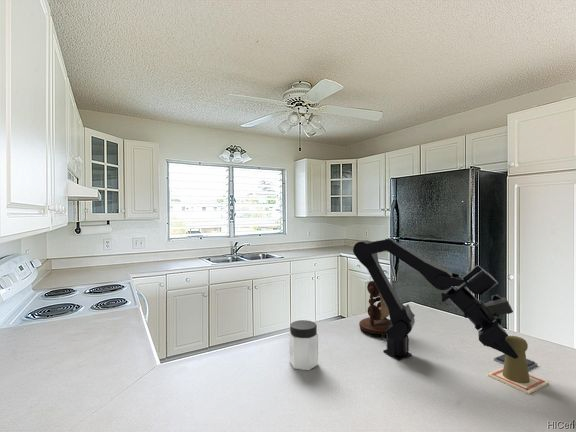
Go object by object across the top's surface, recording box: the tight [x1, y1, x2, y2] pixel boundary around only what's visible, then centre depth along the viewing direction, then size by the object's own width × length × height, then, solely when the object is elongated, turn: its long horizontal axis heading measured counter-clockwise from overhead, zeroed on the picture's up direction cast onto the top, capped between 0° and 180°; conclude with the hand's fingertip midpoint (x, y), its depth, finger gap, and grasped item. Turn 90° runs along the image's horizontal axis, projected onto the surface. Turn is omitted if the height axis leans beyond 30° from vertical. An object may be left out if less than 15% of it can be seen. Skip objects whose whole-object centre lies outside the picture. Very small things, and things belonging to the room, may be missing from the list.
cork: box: [502, 335, 530, 383], centre depth 85 cm, size 6×6×11 cm
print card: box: [487, 366, 550, 395], centre depth 84 cm, size 10×10×1 cm
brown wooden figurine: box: [358, 280, 391, 338], centre depth 120 cm, size 15×15×20 cm
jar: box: [288, 319, 319, 371], centre depth 94 cm, size 9×8×12 cm
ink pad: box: [493, 353, 538, 370], centre depth 94 cm, size 8×8×1 cm
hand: (514, 350), depth 85 cm, fingers open, 9 cm apart
